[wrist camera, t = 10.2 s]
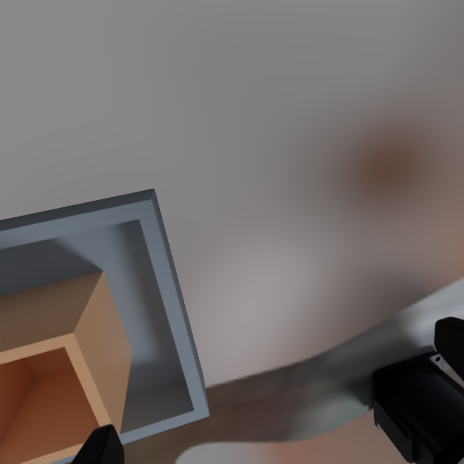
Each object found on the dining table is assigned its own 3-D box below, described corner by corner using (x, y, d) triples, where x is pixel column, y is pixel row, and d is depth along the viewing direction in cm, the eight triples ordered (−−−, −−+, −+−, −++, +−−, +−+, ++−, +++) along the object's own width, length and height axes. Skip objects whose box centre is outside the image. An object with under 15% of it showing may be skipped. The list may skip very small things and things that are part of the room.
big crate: (154, 188, 17) (151, 199, 14) (203, 374, 22) (209, 415, 19) (-118, 244, 15) (-195, 272, 12) (-3, 437, 20) (-36, 495, 17)
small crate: (103, 270, 17) (73, 332, 12) (132, 353, 19) (118, 440, 14) (-8, 297, 16) (-99, 379, 11) (34, 381, 18) (-24, 487, 13)
